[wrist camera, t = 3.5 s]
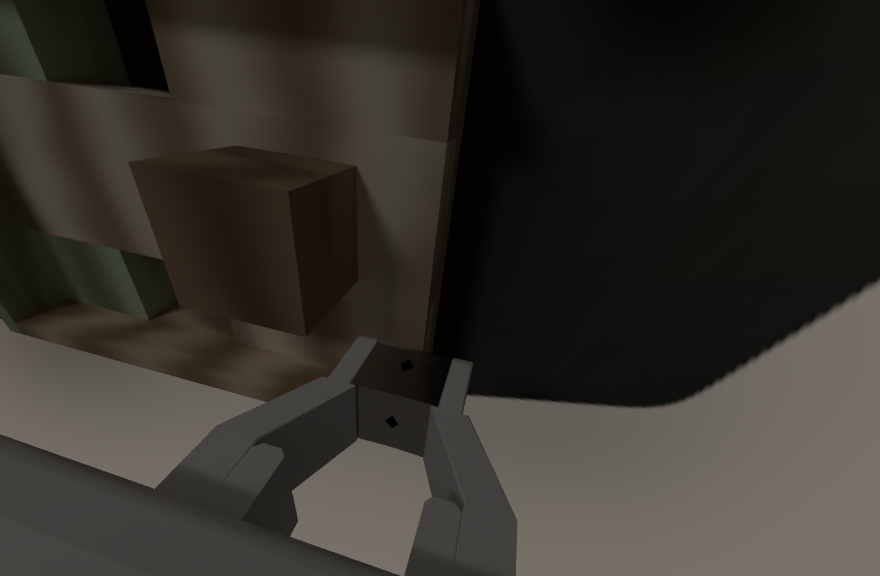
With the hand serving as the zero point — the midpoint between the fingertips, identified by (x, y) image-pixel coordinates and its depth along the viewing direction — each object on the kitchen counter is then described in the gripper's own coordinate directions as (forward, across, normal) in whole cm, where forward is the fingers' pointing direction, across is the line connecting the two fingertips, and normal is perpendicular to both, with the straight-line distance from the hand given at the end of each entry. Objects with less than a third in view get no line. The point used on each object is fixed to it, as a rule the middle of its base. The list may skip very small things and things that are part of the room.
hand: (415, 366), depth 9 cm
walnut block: (+8, +8, 0) cm, 12 cm away
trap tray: (+12, +16, 0) cm, 20 cm away
